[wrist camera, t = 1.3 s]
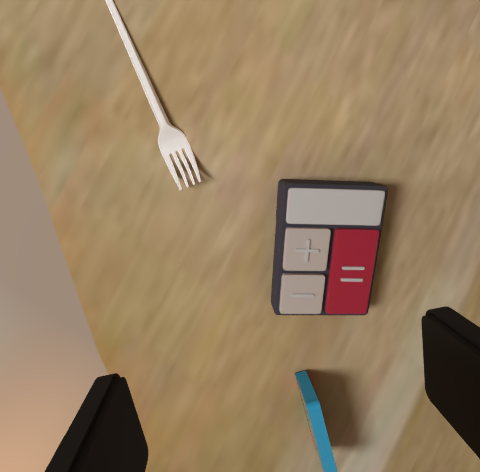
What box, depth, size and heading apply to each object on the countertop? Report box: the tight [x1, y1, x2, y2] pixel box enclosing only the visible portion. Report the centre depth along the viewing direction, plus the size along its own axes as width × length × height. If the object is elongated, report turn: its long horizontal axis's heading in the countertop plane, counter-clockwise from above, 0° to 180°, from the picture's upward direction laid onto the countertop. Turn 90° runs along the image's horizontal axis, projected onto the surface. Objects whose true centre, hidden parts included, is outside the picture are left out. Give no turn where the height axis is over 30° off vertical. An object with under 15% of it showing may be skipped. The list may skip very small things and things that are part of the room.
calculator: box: [271, 179, 388, 315], centre depth 37 cm, size 11×4×15 cm
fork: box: [105, 0, 201, 190], centre depth 33 cm, size 3×20×2 cm, turn 22°
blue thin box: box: [295, 370, 337, 472], centre depth 41 cm, size 12×2×6 cm, turn 15°
